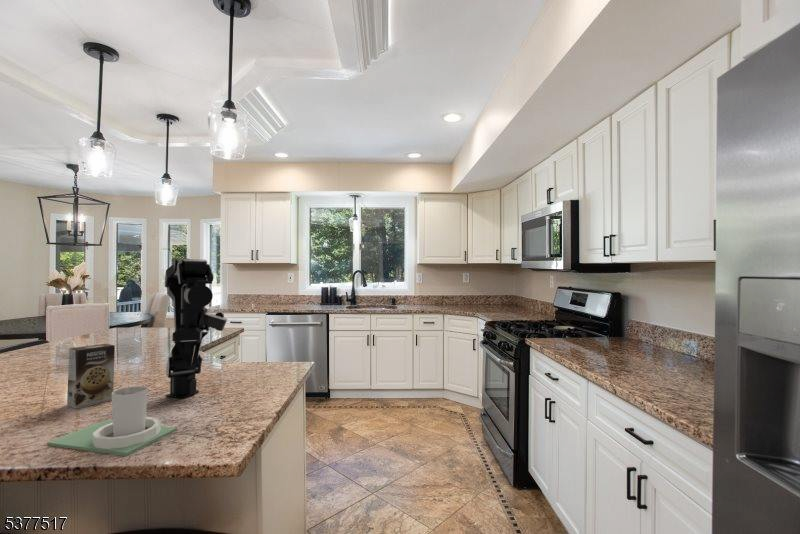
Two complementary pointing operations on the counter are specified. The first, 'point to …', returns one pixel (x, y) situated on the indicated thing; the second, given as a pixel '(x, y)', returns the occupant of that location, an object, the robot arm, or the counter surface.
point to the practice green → (113, 438)
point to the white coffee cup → (129, 410)
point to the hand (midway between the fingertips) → (192, 361)
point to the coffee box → (90, 375)
